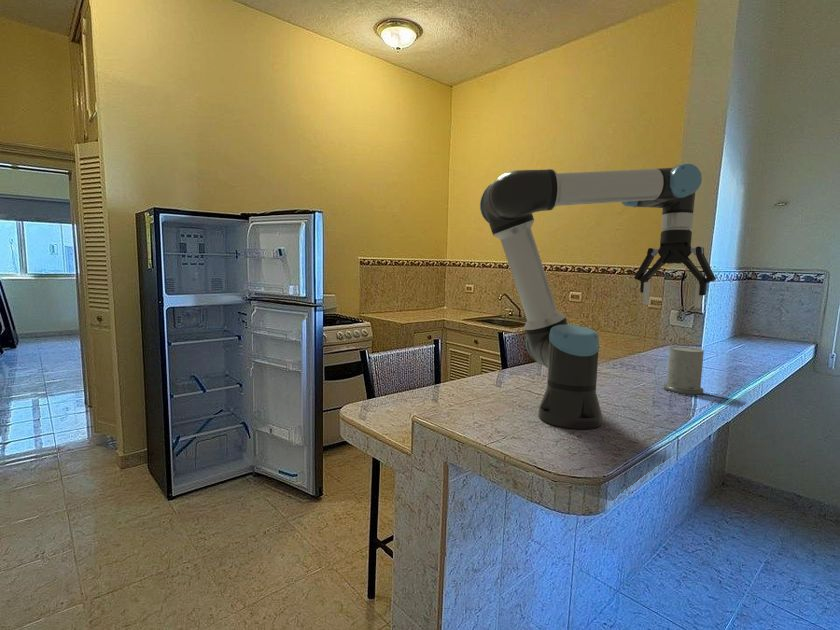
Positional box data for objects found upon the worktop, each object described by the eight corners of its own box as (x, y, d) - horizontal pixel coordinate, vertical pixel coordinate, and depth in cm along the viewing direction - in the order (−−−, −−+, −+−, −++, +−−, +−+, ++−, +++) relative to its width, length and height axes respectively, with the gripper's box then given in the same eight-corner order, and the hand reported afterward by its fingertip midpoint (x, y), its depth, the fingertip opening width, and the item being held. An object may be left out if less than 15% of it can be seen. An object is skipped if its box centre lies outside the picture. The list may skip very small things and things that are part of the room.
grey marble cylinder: (699, 391, 135) (702, 352, 134) (664, 386, 141) (667, 349, 140) (701, 386, 143) (705, 349, 142) (668, 381, 149) (671, 345, 148)
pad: (663, 392, 140) (663, 387, 140) (664, 385, 150) (664, 380, 150) (703, 397, 135) (704, 392, 135) (702, 390, 144) (702, 385, 144)
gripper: (733, 228, 115) (726, 308, 116) (637, 233, 134) (632, 302, 136) (724, 225, 110) (716, 309, 112) (625, 231, 129) (620, 303, 131)
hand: (670, 306), depth 124 cm, fingers open, 13 cm apart
